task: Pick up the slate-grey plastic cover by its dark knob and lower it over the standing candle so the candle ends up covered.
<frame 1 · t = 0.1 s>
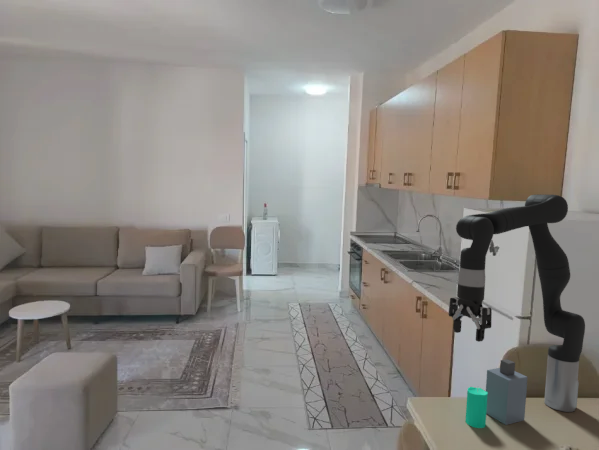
hand: (467, 336, 127), 29 cm above the table, tool pointing down, fingers open, 8 cm apart
candle: (475, 423, 134), on the table
cover: (504, 416, 139), on the table
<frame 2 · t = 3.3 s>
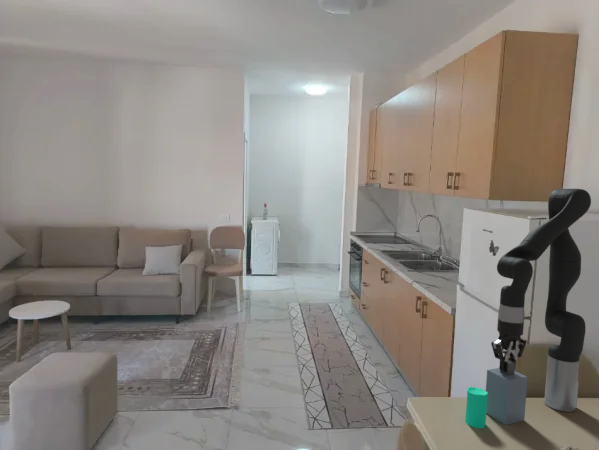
hand: (507, 370, 138), 15 cm above the table, tool pointing down, fingers closed on cover, 3 cm apart
cover: (504, 416, 139), on the table, touching gripper
everything else where it was.
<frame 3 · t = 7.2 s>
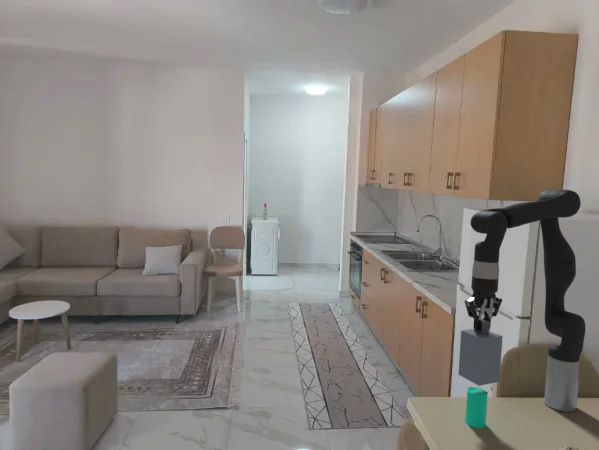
hand: (481, 330, 132), 30 cm above the table, tool pointing down, fingers closed on cover, 3 cm apart
cover: (478, 378, 133), point 15 cm above the table, touching gripper
everything else where it was.
when the fingers open (16 cm above the table, at t = 11.1 s): cover drops 1 cm, on the table.
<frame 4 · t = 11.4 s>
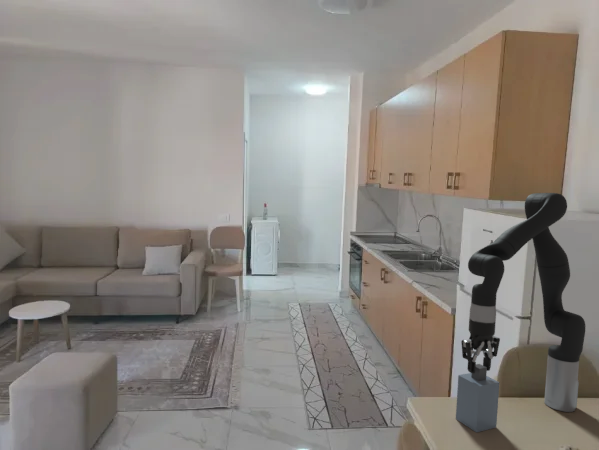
hand: (478, 370, 132), 17 cm above the table, tool pointing down, fingers open, 5 cm apart
cover: (475, 422, 134), on the table
everything else where it was.
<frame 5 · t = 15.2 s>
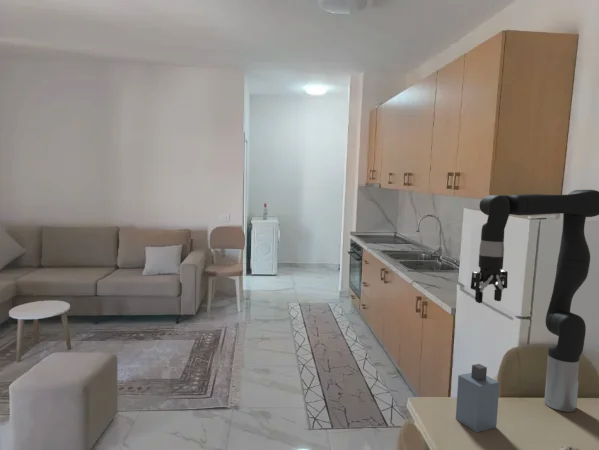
hand: (488, 301, 144), 36 cm above the table, tool pointing down, fingers open, 8 cm apart
nothing on the table moved.
at the end: cover 0.1 cm from the candle (horizontally); cover on the table; candle tilted 0° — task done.
